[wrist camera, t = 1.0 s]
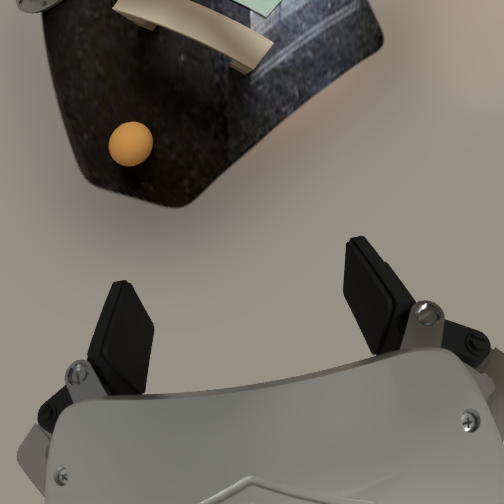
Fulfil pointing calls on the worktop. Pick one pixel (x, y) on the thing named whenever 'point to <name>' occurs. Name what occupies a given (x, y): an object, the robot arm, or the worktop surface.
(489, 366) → the robot arm
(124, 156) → the ball
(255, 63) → the bridge
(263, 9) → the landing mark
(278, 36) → the worktop surface
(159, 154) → the worktop surface
